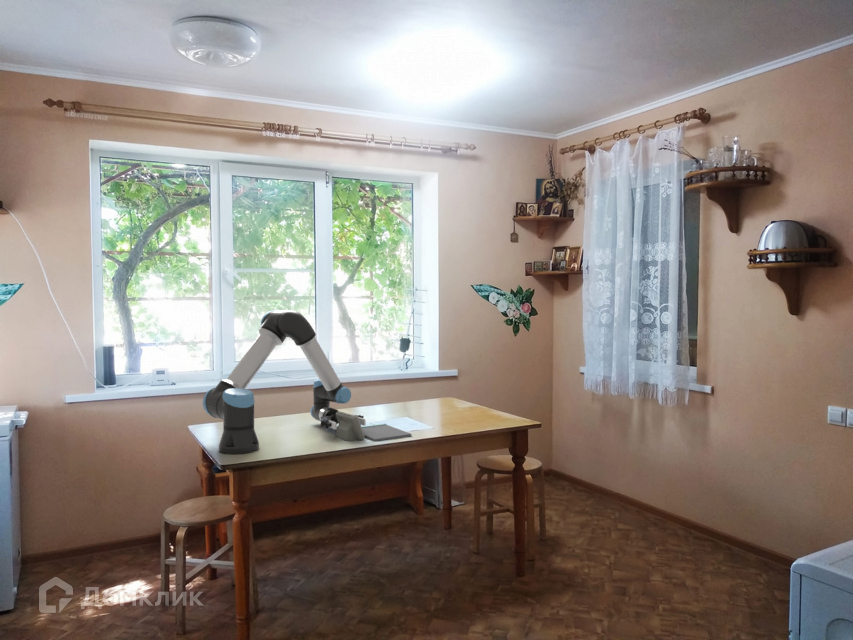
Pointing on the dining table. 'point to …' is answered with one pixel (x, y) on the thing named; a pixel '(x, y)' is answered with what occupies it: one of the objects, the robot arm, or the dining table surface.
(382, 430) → the docking pad
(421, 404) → the dining table surface
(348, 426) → the digital clock
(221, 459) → the dining table surface
